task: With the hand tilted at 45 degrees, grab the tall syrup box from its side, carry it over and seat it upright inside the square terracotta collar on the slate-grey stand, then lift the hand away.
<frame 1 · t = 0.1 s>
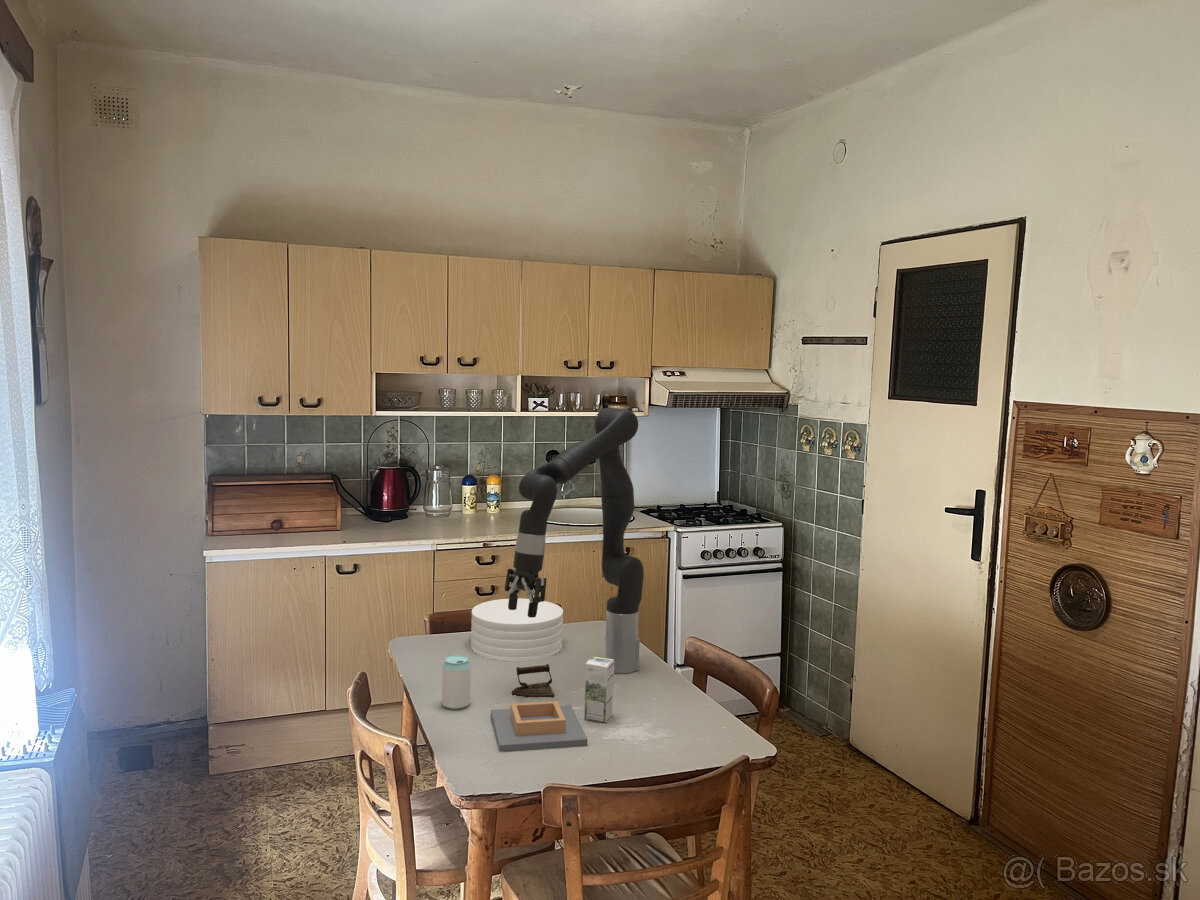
hand: (521, 613, 217), 22 cm above the table, tool pointing down, fingers open, 8 cm apart
clothes iron: (531, 694, 222), on the table
can: (456, 705, 213), on the table
collar stand: (537, 730, 200), on the table
syrup box: (598, 718, 208), on the table
plate stack: (516, 647, 260), on the table
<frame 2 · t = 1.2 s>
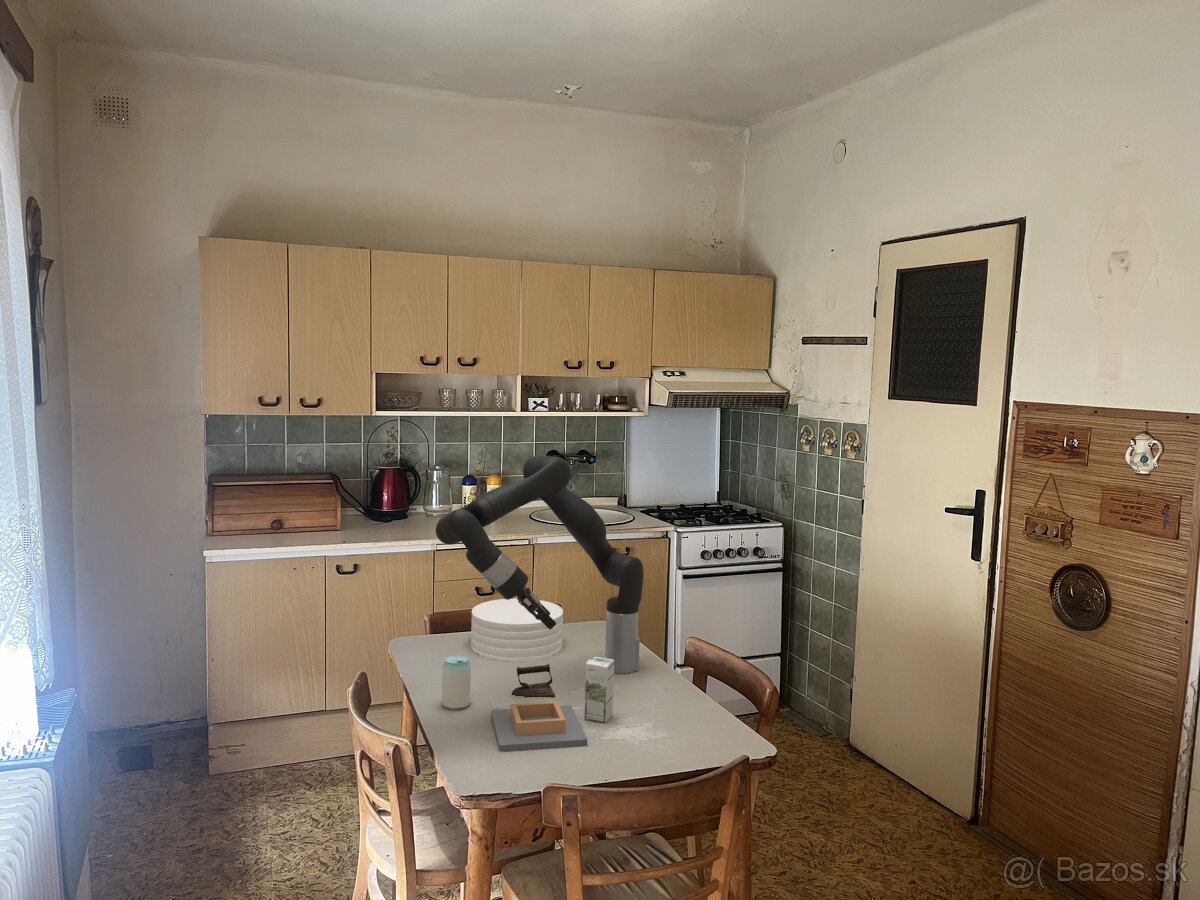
hand: (550, 621, 203), 25 cm above the table, tool tilted 45°, fingers open, 8 cm apart
nothing on the table moved.
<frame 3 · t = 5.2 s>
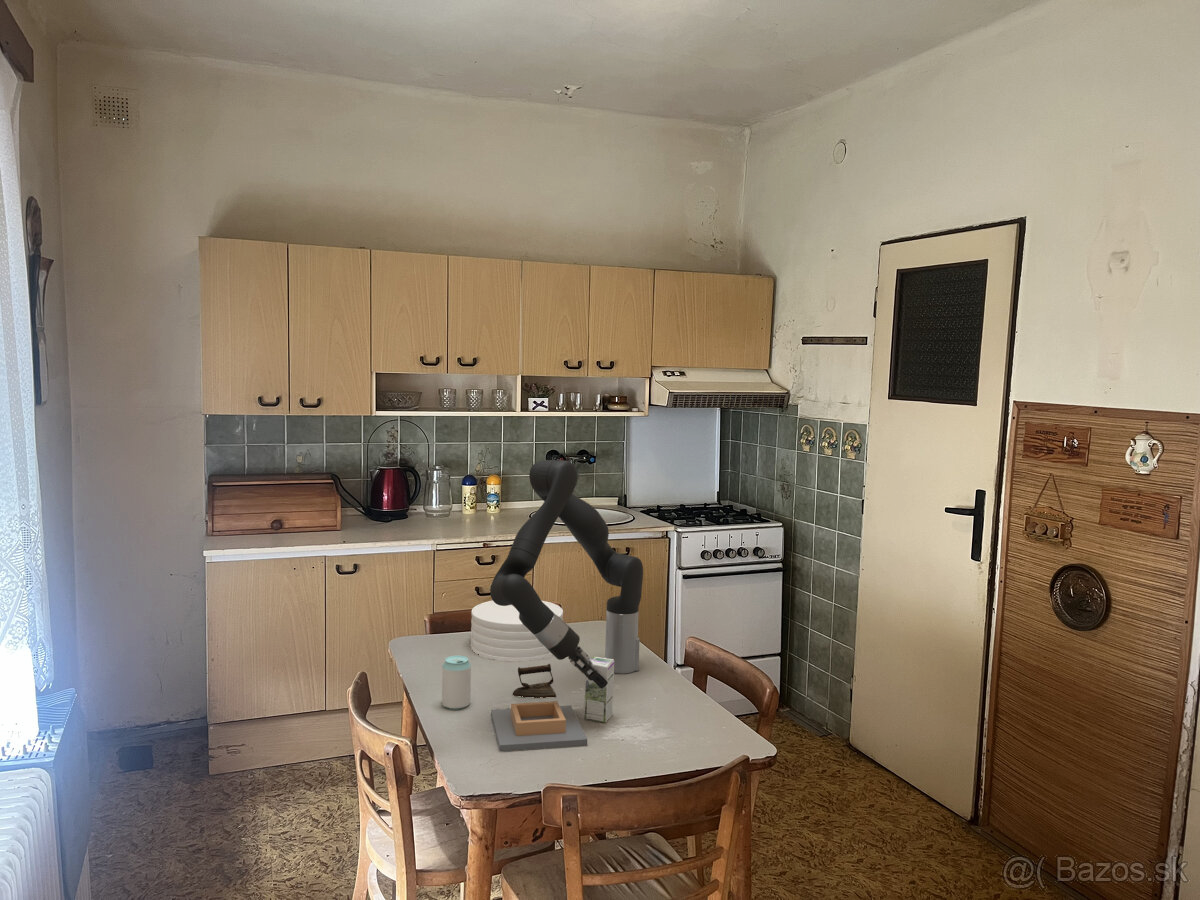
hand: (601, 679, 207), 10 cm above the table, tool tilted 45°, fingers closed on syrup box, 8 cm apart
syrup box: (598, 718, 208), on the table, touching gripper
everything else where it was.
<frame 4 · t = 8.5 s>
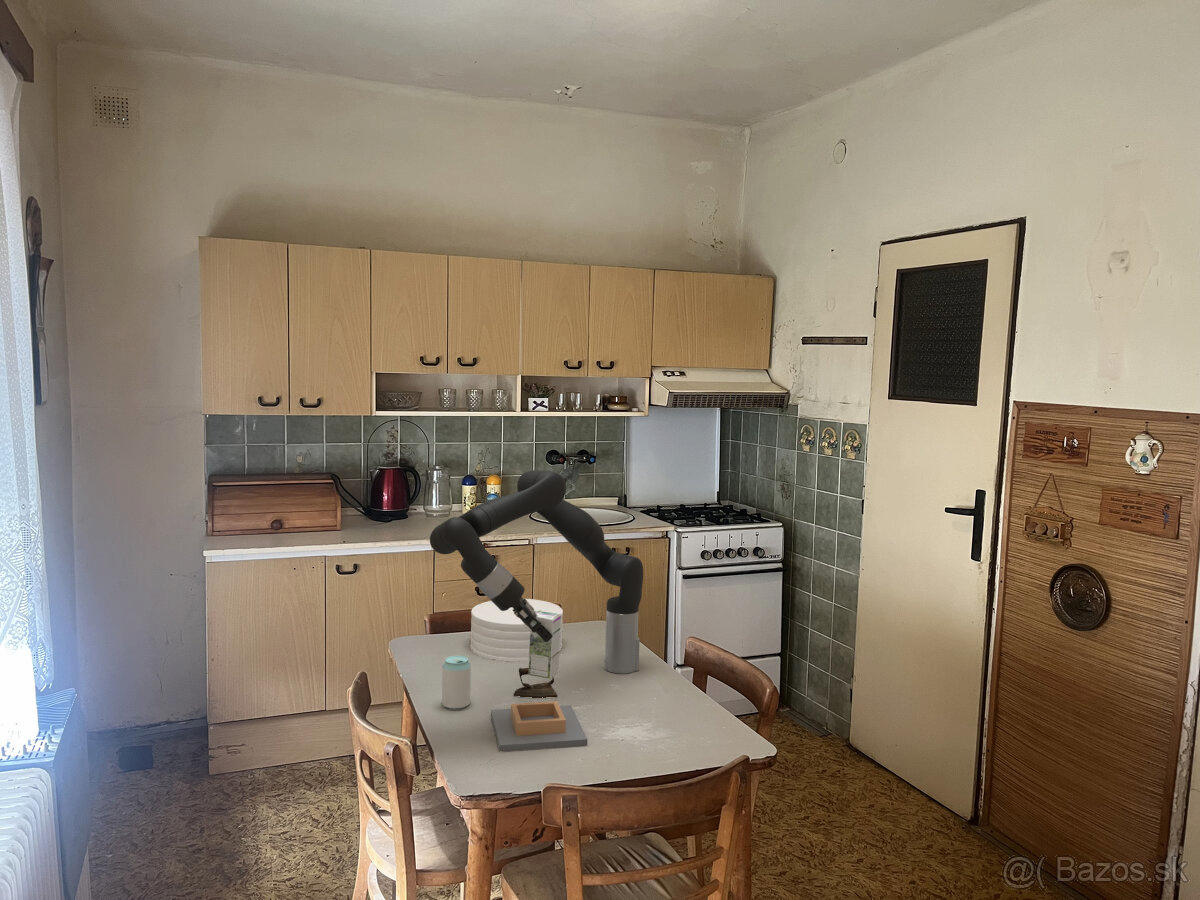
hand: (546, 633, 198), 23 cm above the table, tool tilted 45°, fingers closed on syrup box, 8 cm apart
syrup box: (543, 674, 199), point 13 cm above the table, touching gripper
everything else where it was.
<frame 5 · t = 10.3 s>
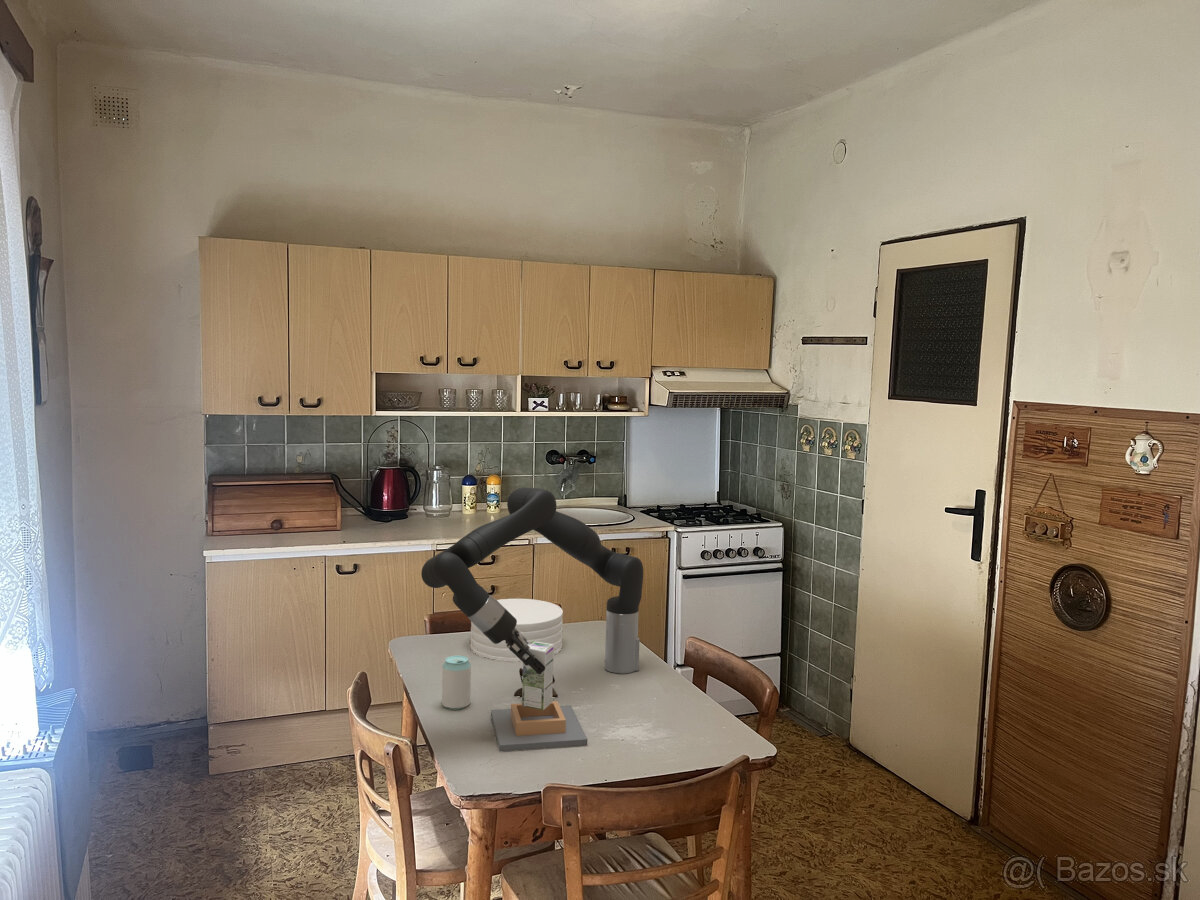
hand: (539, 665, 198), 16 cm above the table, tool tilted 45°, fingers closed on syrup box, 8 cm apart
syrup box: (537, 705, 199), point 6 cm above the table, touching gripper
everything else where it was.
when the fingers open (12 cm above the table, at t = 11.9 s): syrup box drops 1 cm, resting on collar stand.
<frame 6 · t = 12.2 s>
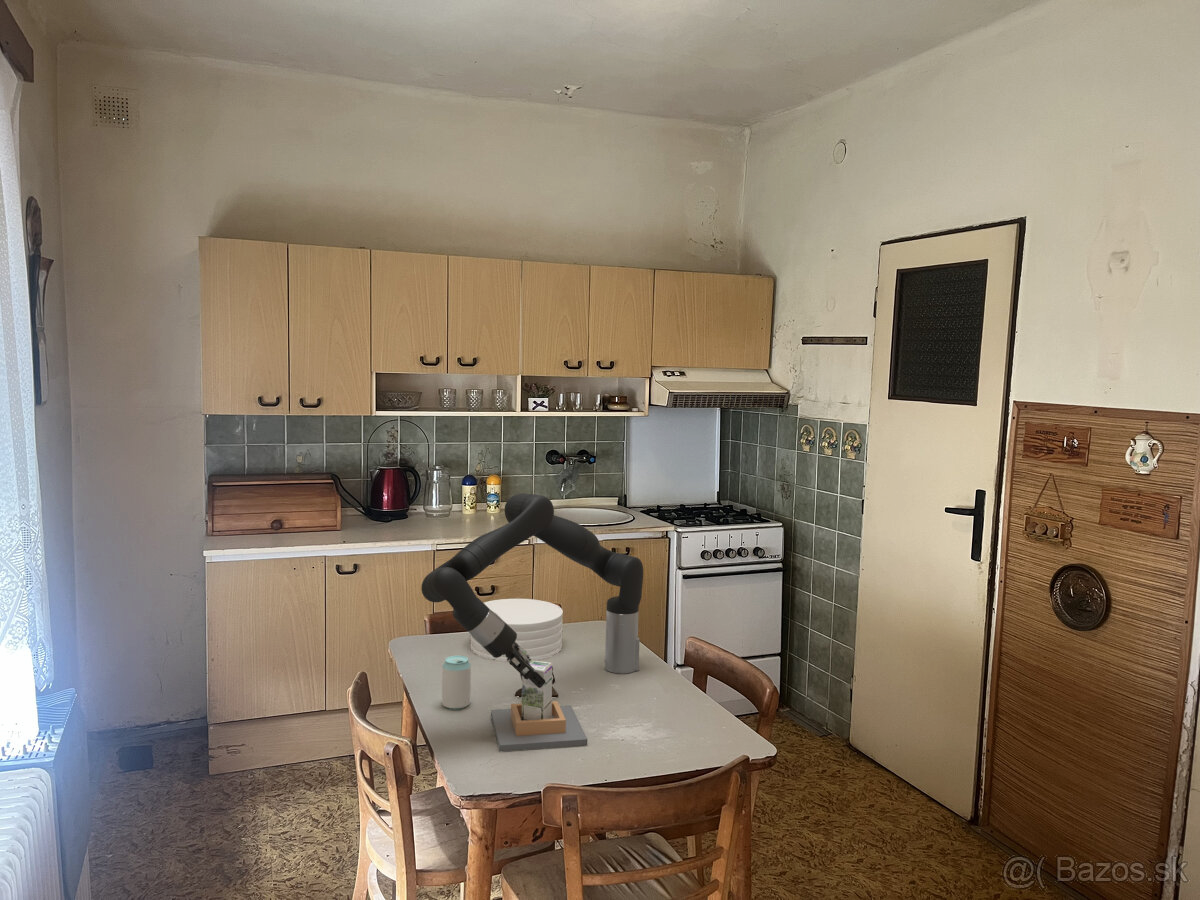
hand: (540, 678, 199), 13 cm above the table, tool tilted 45°, fingers open, 8 cm apart
syrup box: (536, 724, 200), point 1 cm above the table, touching collar stand, gripper
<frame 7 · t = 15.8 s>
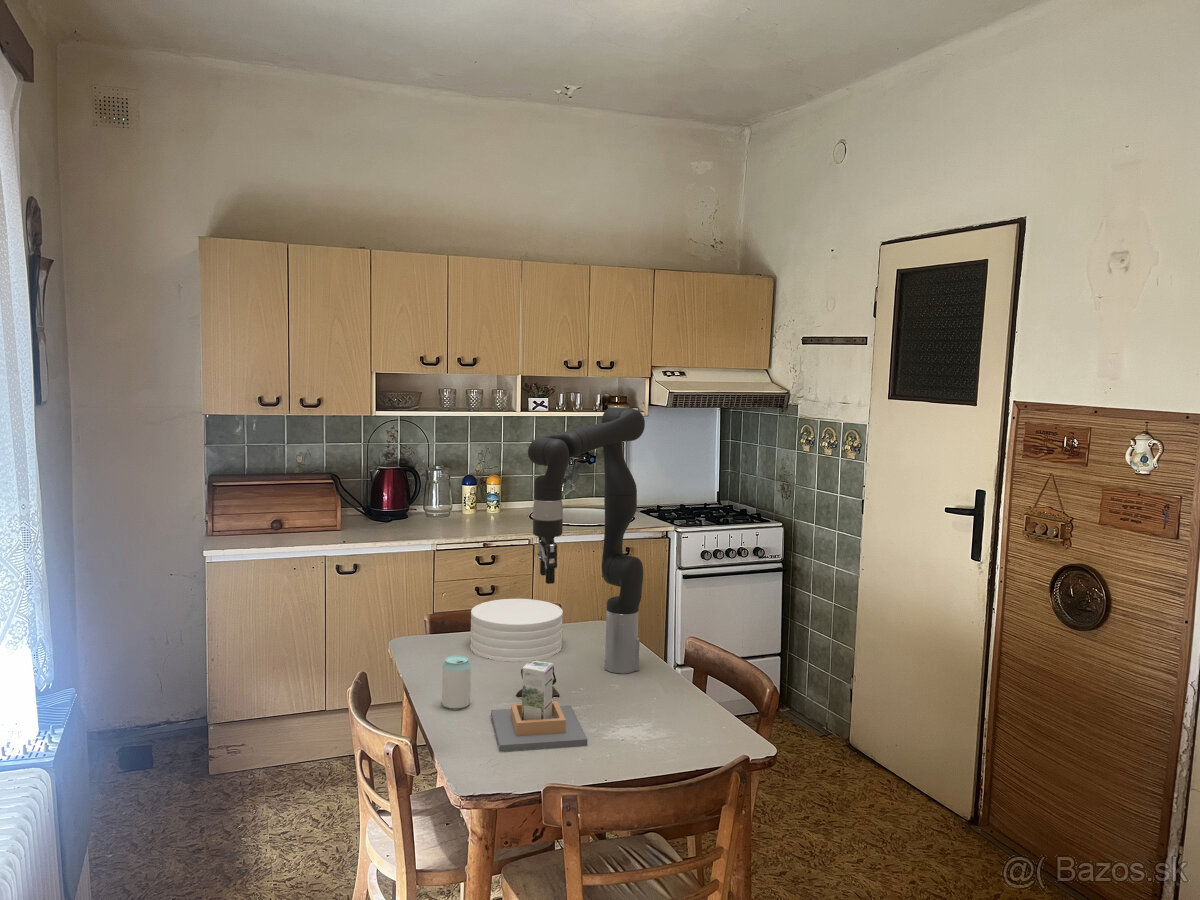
hand: (547, 579, 215), 32 cm above the table, tool pointing down, fingers open, 8 cm apart
syrup box: (536, 724, 200), point 1 cm above the table, touching collar stand
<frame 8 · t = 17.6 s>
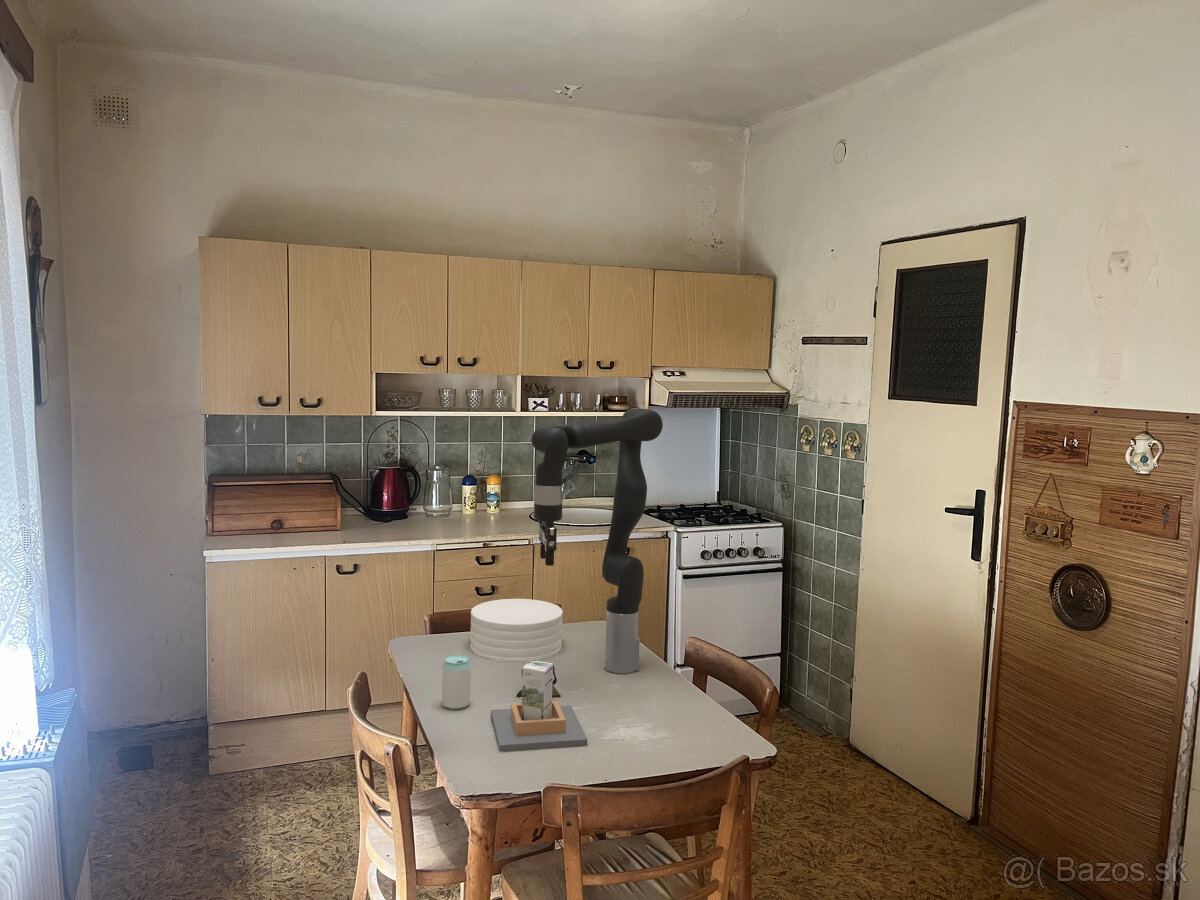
hand: (546, 561, 225), 34 cm above the table, tool pointing down, fingers open, 8 cm apart
at the end: syrup box 0.2 cm off-centre on the collar stand, point 1.3 cm above the collar stand's base; syrup box tilted 0°; the gripper is holding nothing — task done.
